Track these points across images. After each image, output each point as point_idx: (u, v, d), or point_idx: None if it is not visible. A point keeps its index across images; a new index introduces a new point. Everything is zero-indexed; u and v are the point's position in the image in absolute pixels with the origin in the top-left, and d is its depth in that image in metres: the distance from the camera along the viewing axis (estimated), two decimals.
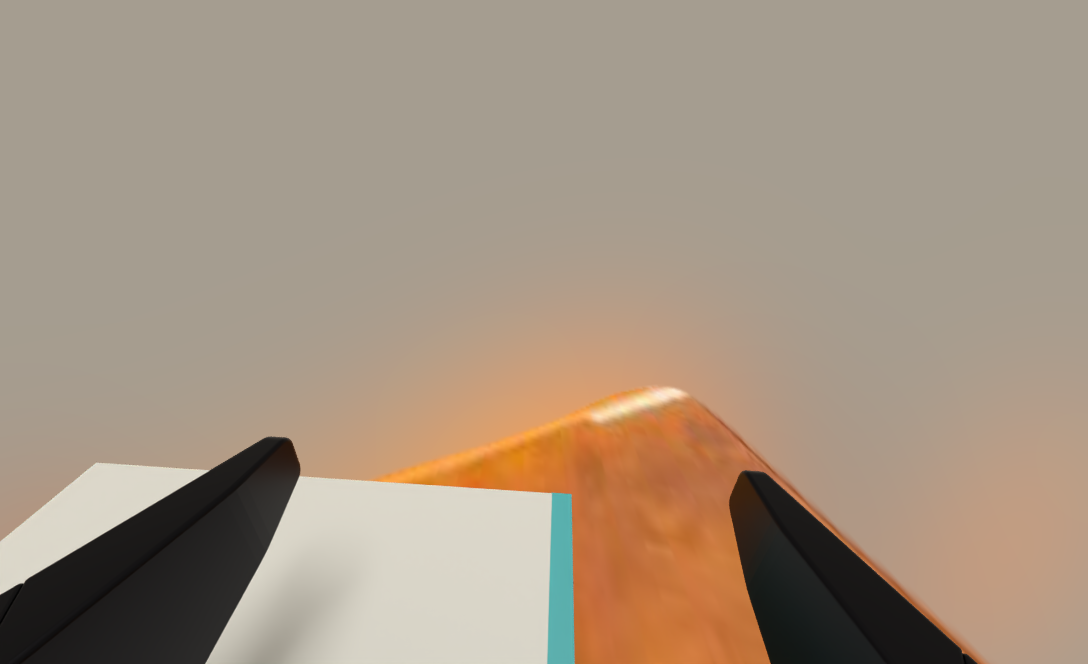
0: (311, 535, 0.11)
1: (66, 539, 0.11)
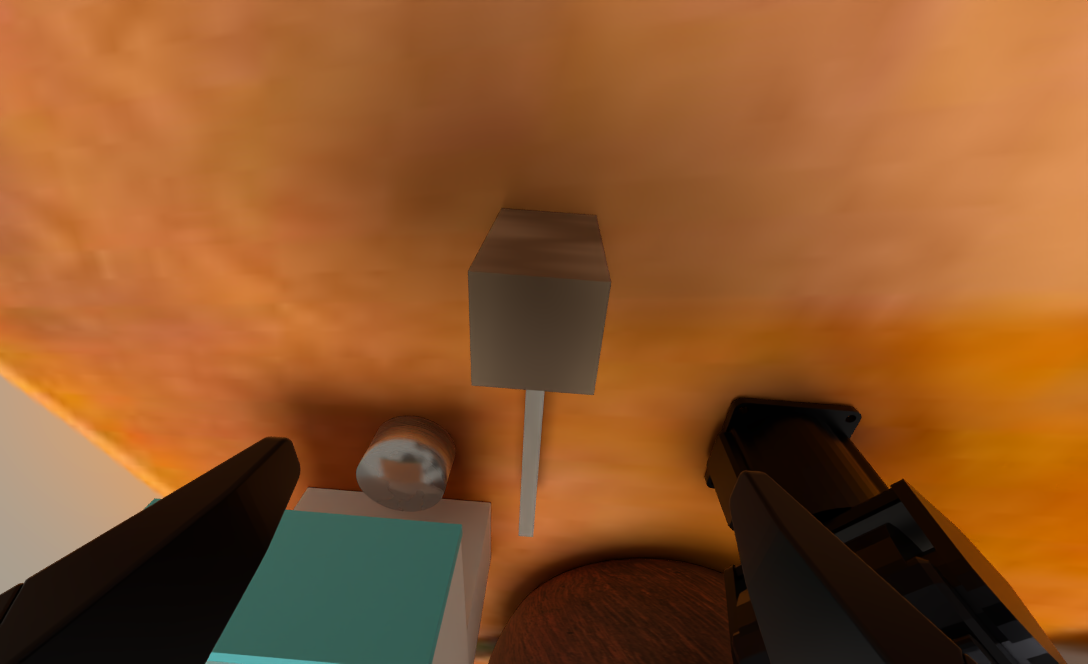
0: None
1: None
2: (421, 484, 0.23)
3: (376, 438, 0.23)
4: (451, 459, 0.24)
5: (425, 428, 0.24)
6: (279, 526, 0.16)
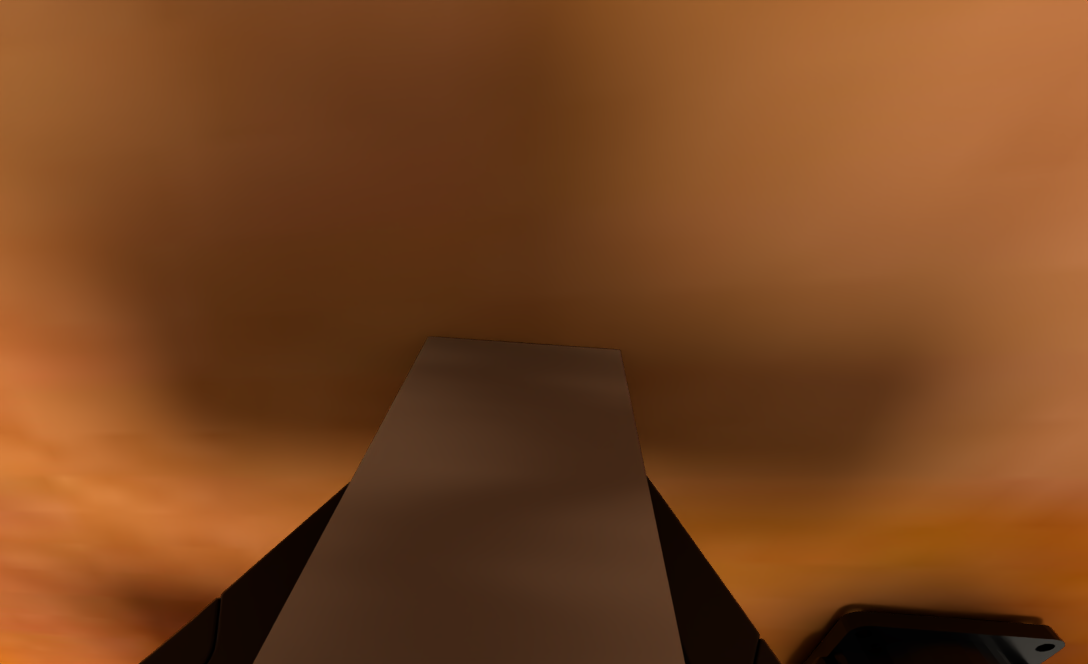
0: None
1: None
2: None
3: None
4: None
5: None
6: None
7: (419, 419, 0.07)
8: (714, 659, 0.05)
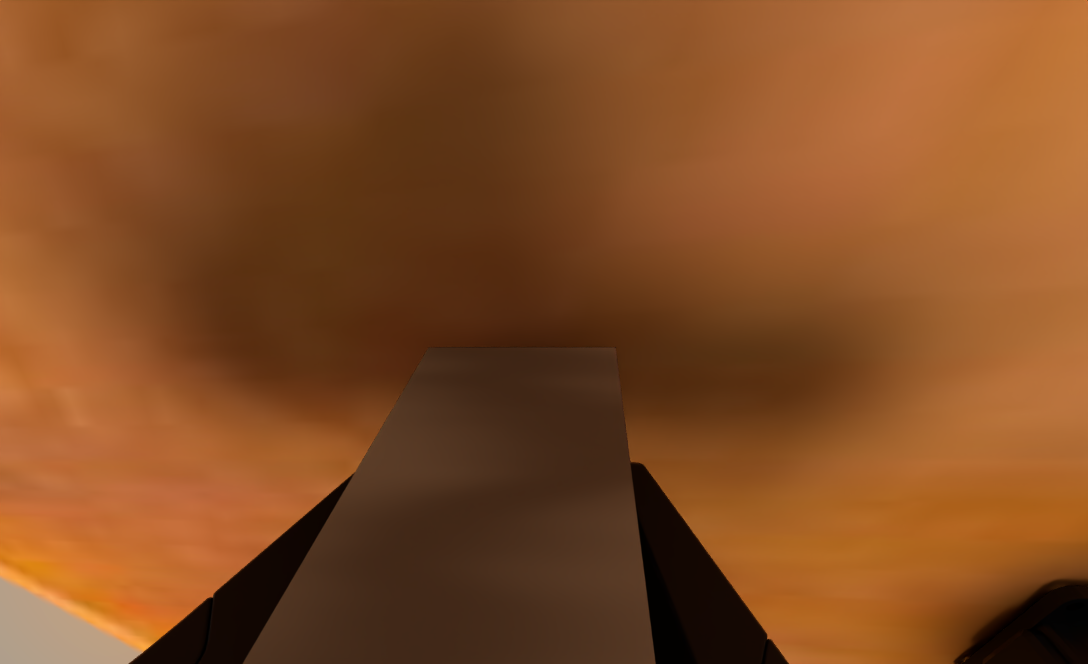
0: None
1: None
2: None
3: None
4: None
5: None
6: None
7: (413, 426, 0.07)
8: (721, 660, 0.05)
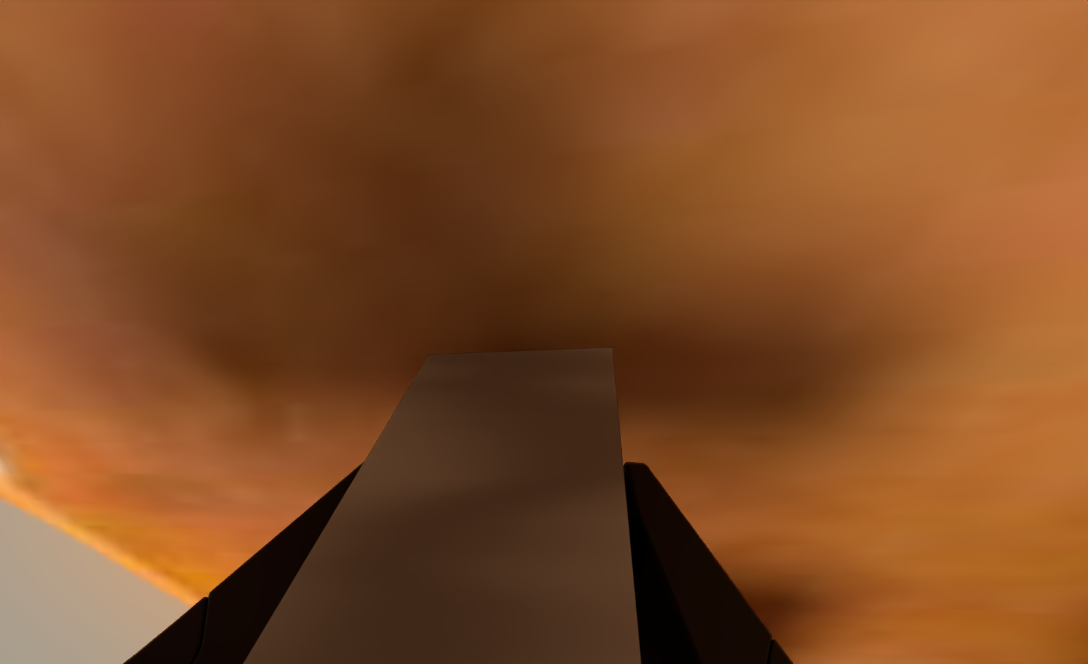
0: None
1: None
2: None
3: None
4: None
5: None
6: None
7: (411, 432, 0.07)
8: (726, 660, 0.05)
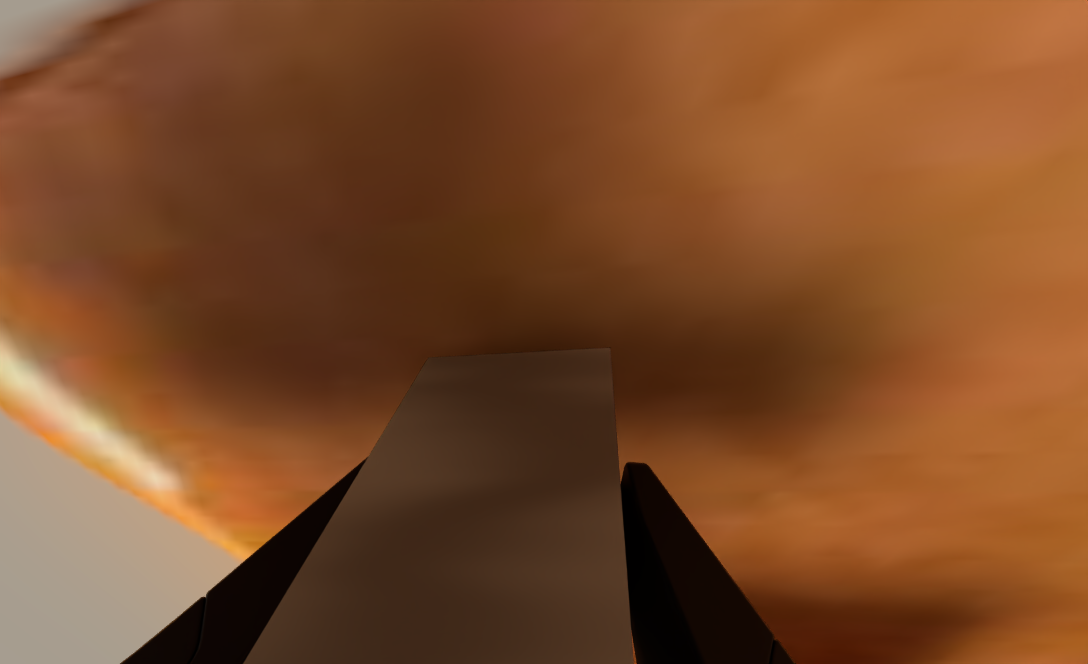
0: None
1: None
2: None
3: None
4: None
5: None
6: None
7: (410, 435, 0.07)
8: (729, 661, 0.05)
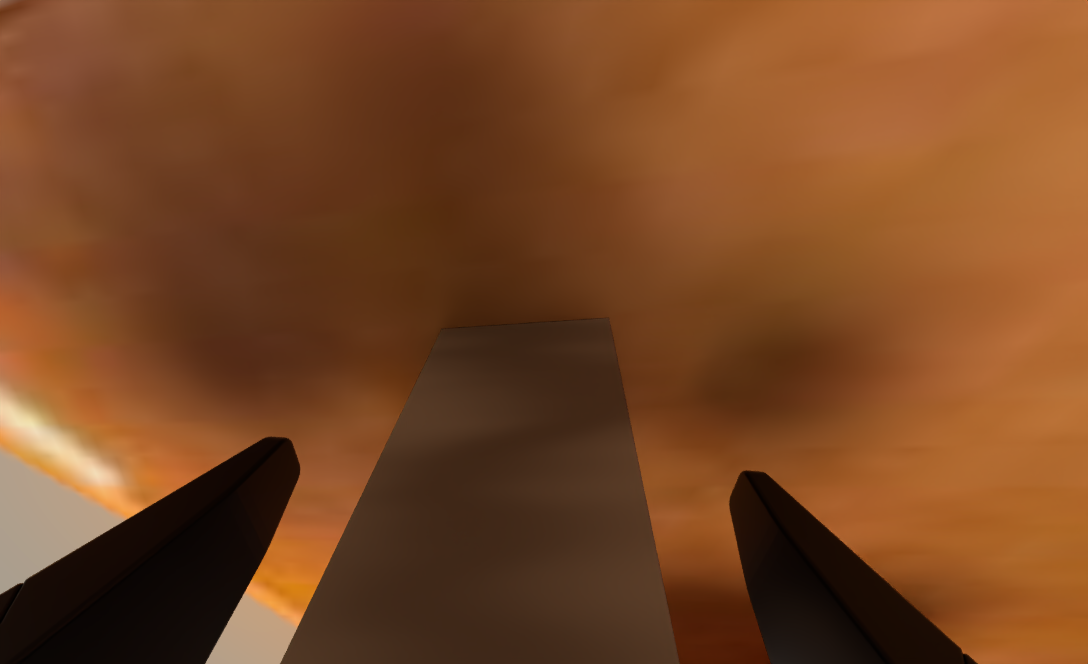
0: None
1: None
2: None
3: None
4: None
5: None
6: None
7: (438, 392, 0.08)
8: None
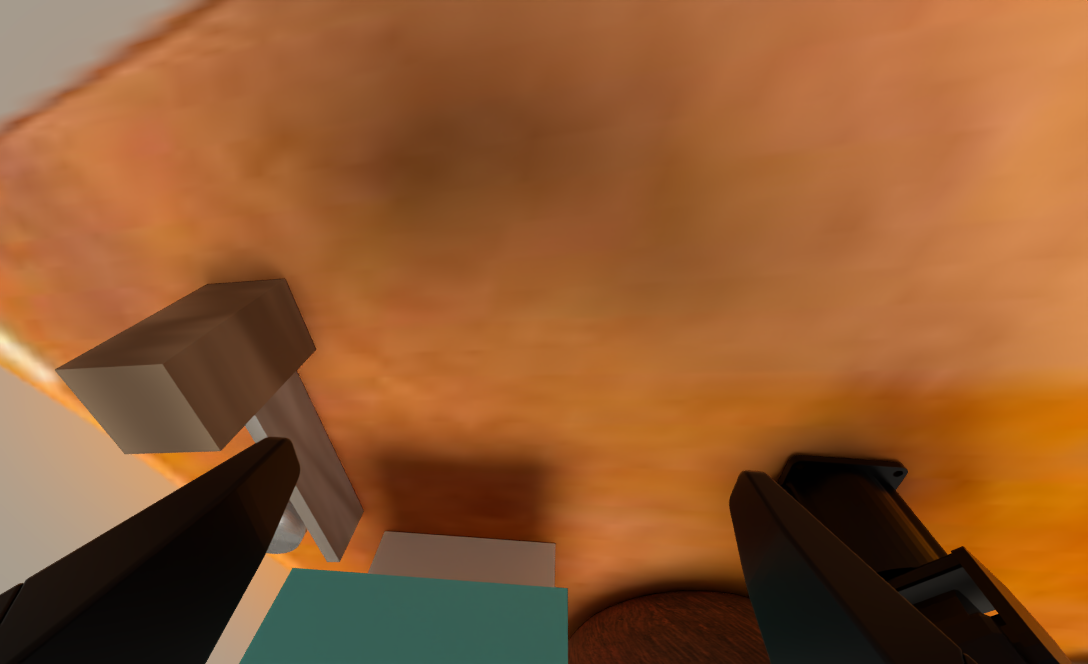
0: None
1: None
2: (277, 528, 0.26)
3: None
4: None
5: None
6: (409, 594, 0.18)
7: (176, 307, 0.18)
8: None
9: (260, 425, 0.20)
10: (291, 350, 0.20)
